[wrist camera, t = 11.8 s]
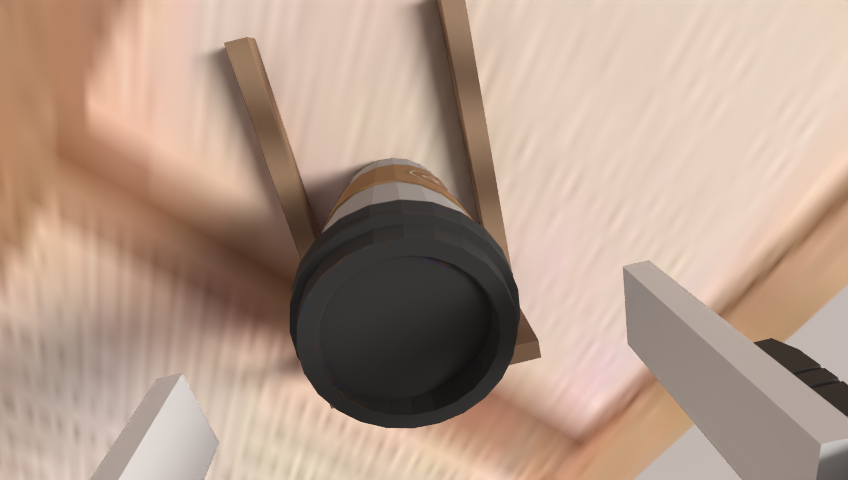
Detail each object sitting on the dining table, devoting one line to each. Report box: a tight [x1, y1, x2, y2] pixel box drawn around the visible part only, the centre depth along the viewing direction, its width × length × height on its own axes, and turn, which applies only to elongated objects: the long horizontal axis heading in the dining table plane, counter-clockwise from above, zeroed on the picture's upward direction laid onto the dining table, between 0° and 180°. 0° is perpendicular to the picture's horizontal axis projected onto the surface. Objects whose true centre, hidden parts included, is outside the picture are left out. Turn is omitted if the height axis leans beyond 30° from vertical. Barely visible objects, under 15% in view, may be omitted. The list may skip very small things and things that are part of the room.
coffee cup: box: [290, 158, 520, 428], centre depth 22 cm, size 8×8×15 cm
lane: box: [224, 0, 541, 409], centre depth 26 cm, size 20×12×6 cm, turn 13°
